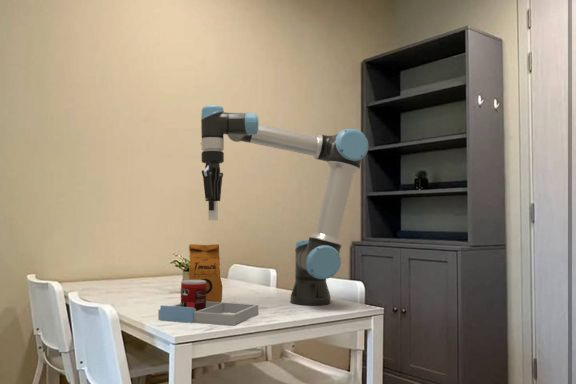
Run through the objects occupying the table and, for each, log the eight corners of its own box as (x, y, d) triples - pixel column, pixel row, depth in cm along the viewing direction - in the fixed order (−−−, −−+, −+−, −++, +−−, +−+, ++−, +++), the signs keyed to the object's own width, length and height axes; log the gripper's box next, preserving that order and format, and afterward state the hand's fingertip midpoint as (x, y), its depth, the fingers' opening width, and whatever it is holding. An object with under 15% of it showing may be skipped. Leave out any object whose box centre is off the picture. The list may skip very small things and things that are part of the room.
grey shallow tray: (258, 314, 170) (258, 300, 171) (232, 326, 151) (232, 310, 151) (189, 309, 178) (190, 296, 178) (157, 320, 158) (157, 305, 159)
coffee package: (221, 308, 181) (222, 244, 182) (185, 308, 180) (186, 244, 181) (222, 303, 191) (223, 243, 192) (188, 303, 190) (189, 243, 191)
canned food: (181, 313, 170) (182, 279, 171) (206, 313, 171) (207, 279, 171) (178, 317, 162) (179, 282, 163) (204, 317, 163) (205, 282, 164)
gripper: (210, 154, 185) (210, 220, 184) (194, 149, 173) (194, 220, 172) (230, 153, 183) (230, 220, 182) (215, 148, 171) (215, 220, 170)
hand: (213, 220), depth 177 cm, fingers closed
